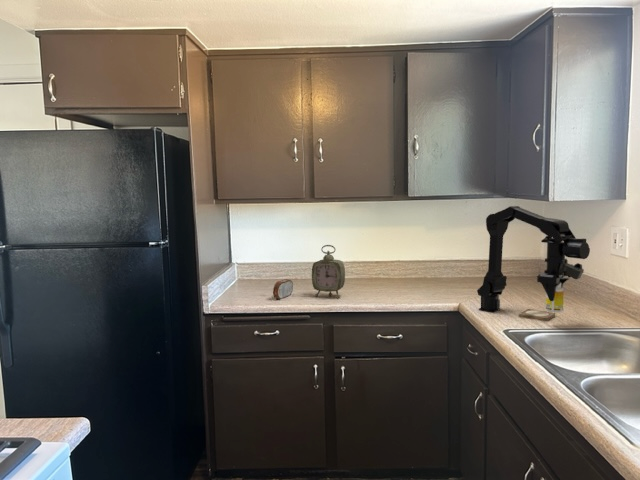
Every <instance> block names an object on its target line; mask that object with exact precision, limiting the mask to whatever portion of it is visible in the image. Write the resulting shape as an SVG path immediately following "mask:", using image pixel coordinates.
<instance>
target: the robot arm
mask: <svg viewBox="0 0 640 480" xmlns="http://www.w3.org/2000/svg"><path fill="white" fill-rule="evenodd" d="M514 220H518V221H522V222H523V223H526V224H528V225H530V226H533V227H535V228H537V229H538V230H540V232H541V233H542V234H545V238H543V239H542V240H541V243H545V244H546V258H544V263H545V262H546V269H544V272H541V273H540V274H538V275H537V277H536V282H537V283H540V284H541V286H542V287H543V289H544V291H545V294H546V293H547V296H548V298H549V300H550V301H554V296H555V291H556V287H557V286H558V285H559V284H561V288H563V287H564V284H565V283H566V282H568V281H569V280H570V278H572V279H574V280H577V281H578V280H579V279H581V277H582V275H583V273H584V268H583V265H582V264H581V263H579V262H577V263H576V264H571V263H568V262H569V261H568V258H571V259H580V260H585V259H587V258H588V257H589V256H590V252H591V251H590V250H591V248H590V245H589V244H588V242H587V238H576V236H575V235H574V233H573V232H572V230H571V228H570V226H569V223H568V221H566V220H563V219H558V218H551V217H546V216H543V215H539V214H538V213H535V212H532V211H530V210H527V209H524V208H523V207H520V206H519V205H511V206H510V205H509V206H508V207H506V208H504V209H502V210H500V211H497V212H495V213H490V214H489V215H488V216H486V218H485V224H486V225H485V226H486V227H485V228H486V230H487V232H488V234H489V249H488V250H489V251H488V267H487V269H488V270H487V271H486V274H485V275H484V277H483V282H482V285H481V286H480V287H479V288H478V289H477V290H476V291H477V292H476V293H477V295H478V296H479V297H480V307H479V308H478V310H479V311H483V312H484V311H485V312H490V313H496V312H497V311H500V310H501V299H499V297H500V296H502V293H503V291H504V290H505V289H506V287H507V276H506V275H504V274H503V271H502V266H503V265H502V264H503V244H504V236H505V234H506V232H507V230H508V228H509V224H510V222H513V221H514ZM566 277H567V278H566ZM559 282H561V283H559Z"/></svg>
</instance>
